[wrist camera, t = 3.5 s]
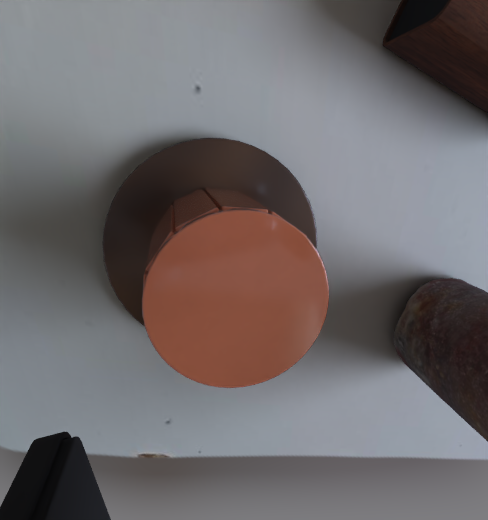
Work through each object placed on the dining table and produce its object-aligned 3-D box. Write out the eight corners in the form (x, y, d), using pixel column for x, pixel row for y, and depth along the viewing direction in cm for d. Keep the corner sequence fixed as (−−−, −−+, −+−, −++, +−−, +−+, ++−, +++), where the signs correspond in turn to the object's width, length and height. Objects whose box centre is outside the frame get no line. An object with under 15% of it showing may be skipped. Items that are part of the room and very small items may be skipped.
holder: (64, 276, 24) (0, 351, 15) (183, 90, 22) (190, 50, 13) (237, 370, 28) (269, 475, 19) (349, 217, 26) (442, 252, 17)
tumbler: (128, 267, 23) (103, 335, 15) (198, 162, 22) (214, 168, 14) (230, 327, 25) (259, 416, 17) (297, 233, 25) (364, 276, 16)
